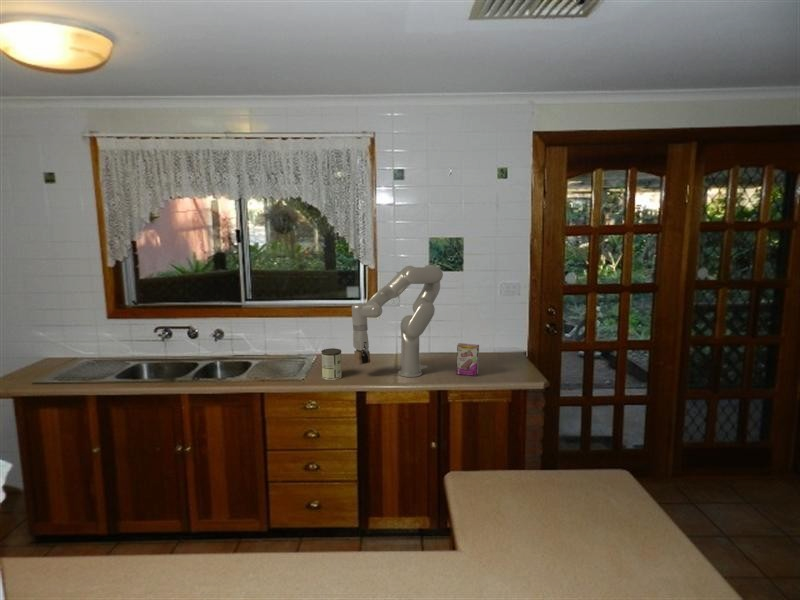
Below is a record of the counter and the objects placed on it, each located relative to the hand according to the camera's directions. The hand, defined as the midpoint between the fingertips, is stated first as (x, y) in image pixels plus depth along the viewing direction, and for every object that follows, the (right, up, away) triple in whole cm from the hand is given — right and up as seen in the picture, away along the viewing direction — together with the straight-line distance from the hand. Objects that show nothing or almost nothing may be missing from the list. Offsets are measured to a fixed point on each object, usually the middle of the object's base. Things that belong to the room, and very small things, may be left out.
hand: (362, 360), depth 265 cm
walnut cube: (0, -1, 0) cm, 1 cm away
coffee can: (-16, -9, +1) cm, 18 cm away
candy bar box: (+55, -8, +7) cm, 56 cm away
